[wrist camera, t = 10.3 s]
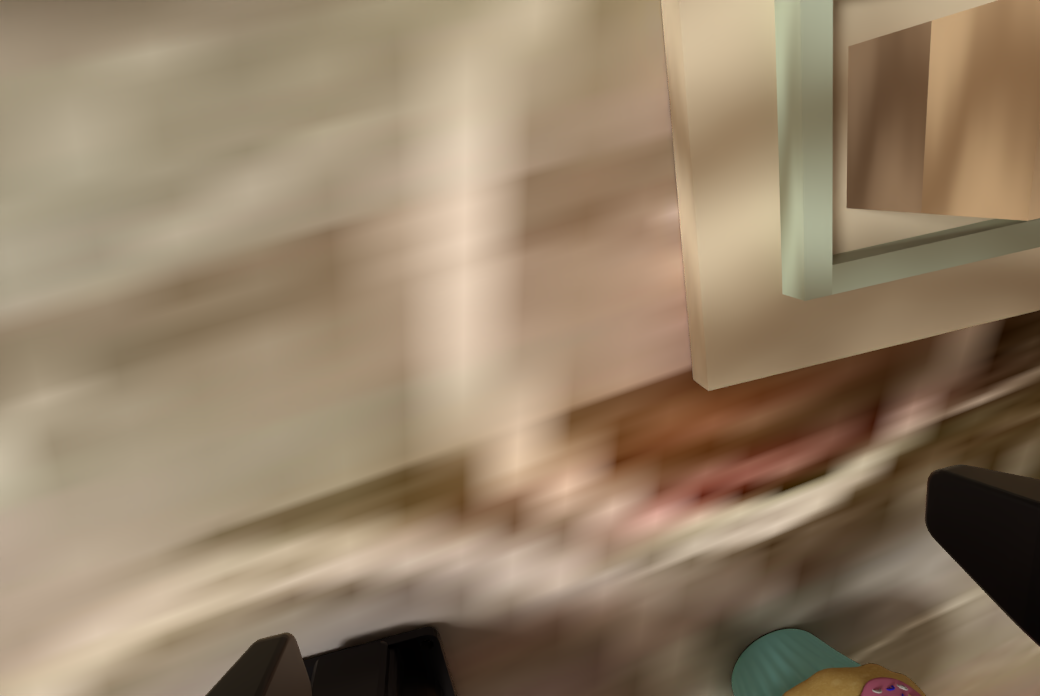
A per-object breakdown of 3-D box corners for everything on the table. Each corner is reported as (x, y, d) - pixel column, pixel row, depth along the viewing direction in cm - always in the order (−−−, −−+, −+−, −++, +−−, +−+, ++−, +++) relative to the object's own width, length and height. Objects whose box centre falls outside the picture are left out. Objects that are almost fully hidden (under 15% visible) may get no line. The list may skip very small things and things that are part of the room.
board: (1055, 292, 23) (1125, 304, 21) (693, 379, 21) (725, 403, 19) (1120, -187, 18) (1221, -240, 16) (650, -123, 16) (688, -172, 14)
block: (975, 180, 19) (1202, 182, 14) (846, 208, 19) (1027, 220, 13) (988, 21, 18) (1251, -51, 12) (848, 46, 17) (1054, -18, 12)
